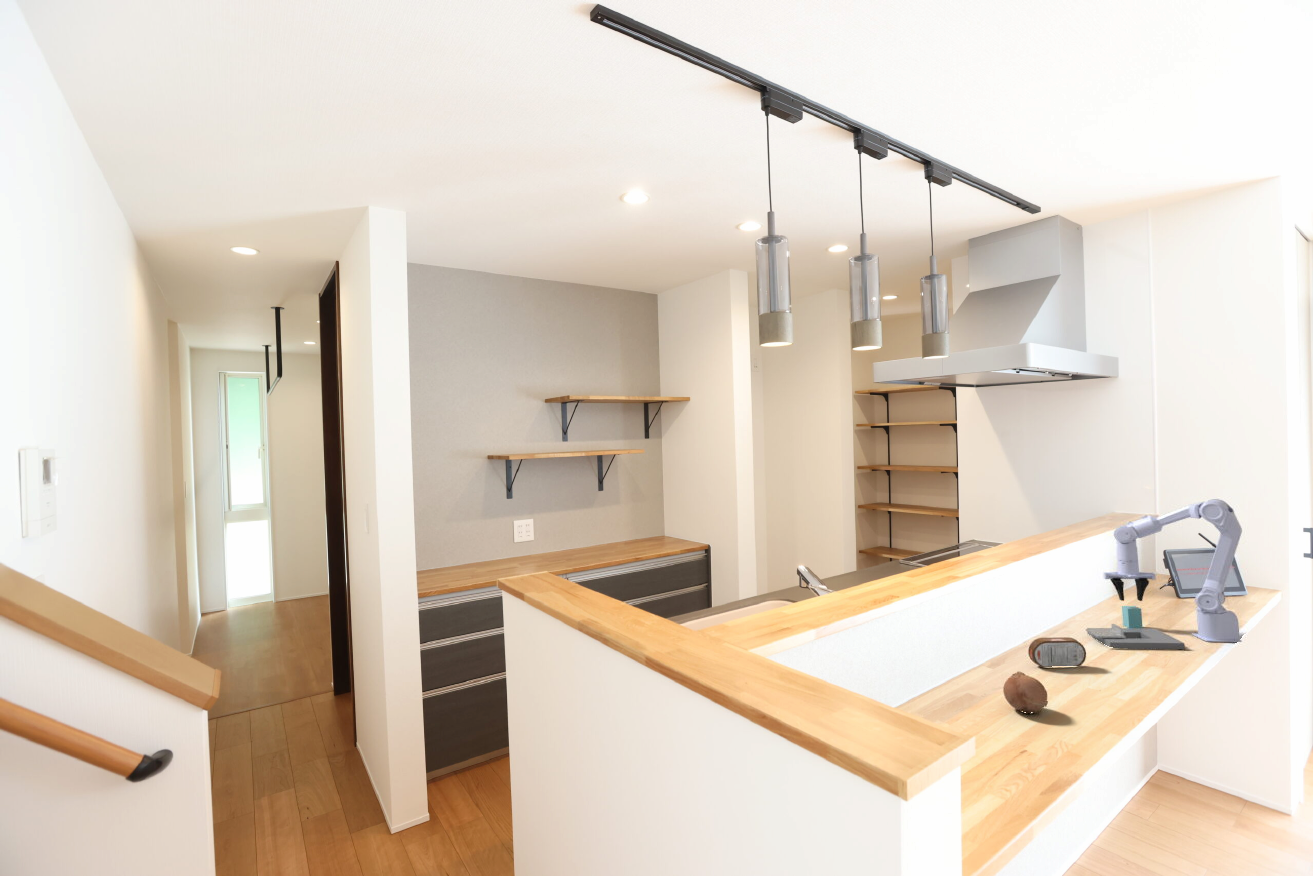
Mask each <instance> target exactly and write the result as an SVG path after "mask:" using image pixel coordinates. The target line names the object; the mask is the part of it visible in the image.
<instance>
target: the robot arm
mask: <svg viewBox="0 0 1313 876" xmlns="http://www.w3.org/2000/svg"><path fill="white" fill-rule="evenodd" d="M1189 518H1191V519H1201V518H1202V519H1204V520H1205V521H1207V522H1209V523H1210V524H1212V525H1213V526H1214V527H1215V528H1216V529H1217V531H1218V532H1220V534H1219V538H1218V540H1217V544H1216V547H1215V550H1214V553H1213V557H1212V559H1211V562H1210V563H1211V564H1210V565H1209V570H1208V572H1207V576H1206V578H1205V581H1204V583H1203V586H1202V589H1200V591H1199V592H1198V594H1196V595H1195V598H1194V602H1195V604H1196V608H1195V609H1196V623H1197V632H1191V635H1192V636H1194V637H1196V638H1199V639H1200V640H1203V641H1204V642H1208V643H1210V642H1215V643H1217V642H1218V643H1220V642H1221V643H1242V639H1241V637H1240V626H1239V619H1238V616H1237V615H1236V613H1235V612H1233V611H1232V610H1227V609H1226V607H1225V606H1224V605H1223V604H1224V603H1225V601H1226V595H1225V588H1226V583H1227V580H1228V577H1229V573H1230V570H1231V566H1232V563H1233V561H1234V558H1235V554H1236V552H1237V548H1238V545H1239V542H1240V539H1241V536H1242V533H1243V528H1242V527H1241V524H1240V522H1239V519H1238V518H1237V516H1236V513H1235V511H1234V509H1233V507H1231V506H1230V505H1229V504H1228V503H1227V502H1226V501H1225V500H1223V499H1219V498H1212V499H1209V500H1208V501H1206V502H1205V501H1201V502H1197V503H1192V504H1188V505H1186V506H1184V507H1180V508H1179V509H1175V510H1174V511H1170V512H1168V513H1166V514H1163V515H1160V516H1154V515H1146V514H1145V515H1142V516H1141V518H1140V519H1137V520H1134V521H1132V522H1131V521H1127V522H1126V524H1124V525H1123V524H1122V525H1120V526H1118V527H1116V528H1115V529H1114V532H1113V536H1114V540H1116V555H1117V556H1116V558H1117V571H1113V572H1111V571H1110V572H1102V573H1103V574H1102V577H1103V579H1105V580H1110V582H1111V583H1112V585H1113V586H1114V589H1115V590H1116V593H1117V596H1118V599H1119V600H1120V601H1125V594H1124V585H1125V582H1124V581H1123V580H1134V581H1135V586H1136V587H1135V588H1136V599H1137V600H1138V601H1139V602H1143V599H1144V595H1145V592H1146V589H1147V587H1148V586H1149V584H1150V581H1149V580H1152V581H1153V580H1156V573H1154V572H1142V571H1141V572H1140V568H1139V553H1138V552H1139V551H1138V546H1137V539H1142V538H1146V537H1148V536H1151V535H1153V534H1157V533H1160V532H1162V529H1163V527H1164V526H1166V525H1170V524H1173V523H1176V522H1179V521H1183V520H1186V519H1189Z"/></svg>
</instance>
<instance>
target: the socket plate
mask: <svg viewBox="0 0 1313 876" xmlns="http://www.w3.org/2000/svg"><path fill="white" fill-rule="evenodd" d="M1121 628H1122V629H1123V631H1124V636H1125V637H1126V638H1097V637H1095V636H1094V635H1092V634H1090V633H1089V632H1087V631H1086V633H1087V635H1088V634H1089V635H1088V636H1090V635H1091V636H1092V637H1091V636H1090V637H1091V638H1093V639H1094V638H1095V639H1094V640H1096V639H1097V640H1098V642H1099V641H1100V642H1099V643H1101V642H1102V643H1103V644H1102V643H1101V644H1102V645H1104V644H1105V645H1107V646H1109V647H1113V648H1128V649H1127V650H1160V649H1185V650H1186V648H1185V642H1183V641H1181V640H1179V639H1177V638H1175V637H1174V636H1171V635H1169V634H1167V633H1165V632H1163V631H1161V630H1159V629H1158V628H1150V627H1149V628H1148V627H1147V628H1125V627H1121ZM1086 629H1112V627H1111V628H1110V627H1109V628H1107V627H1105V628H1103V627H1101V628H1100V627H1092V628H1091V627H1087V628H1086ZM1097 640H1096V641H1097ZM1105 645H1104V646H1105ZM1107 646H1106V647H1107Z"/></svg>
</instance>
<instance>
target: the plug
mask: <svg viewBox="0 0 1313 876" xmlns="http://www.w3.org/2000/svg"><path fill="white" fill-rule="evenodd" d="M1121 612H1122V613H1121V614H1122V622H1123V623H1122V625H1123V627H1124V626H1125V627H1127V628H1143V627H1144V626H1143V616H1142V608H1141V607H1138V606H1136V605H1121ZM1125 627H1124V628H1125Z"/></svg>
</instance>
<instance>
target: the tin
mask: <svg viewBox="0 0 1313 876" xmlns="http://www.w3.org/2000/svg"><path fill="white" fill-rule="evenodd" d="M1027 652H1028V653H1027V654H1028V657H1029V658H1030V660H1031V661H1032V662H1033V663H1034V664H1035V665H1037V666H1038V667H1040V668H1043V667H1052V666H1079V667H1080V666H1082V665H1083V664H1084V663H1085V661H1086V659H1087V650H1086V648H1085V647H1084V645H1083V644H1082V643H1081V642H1079V641H1078V640H1077V639H1076V638H1073V637H1070V636H1069V637H1038V638H1036V639H1034V640H1033V641H1032V642H1031V643H1030V644H1029V646H1028V651H1027Z"/></svg>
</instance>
